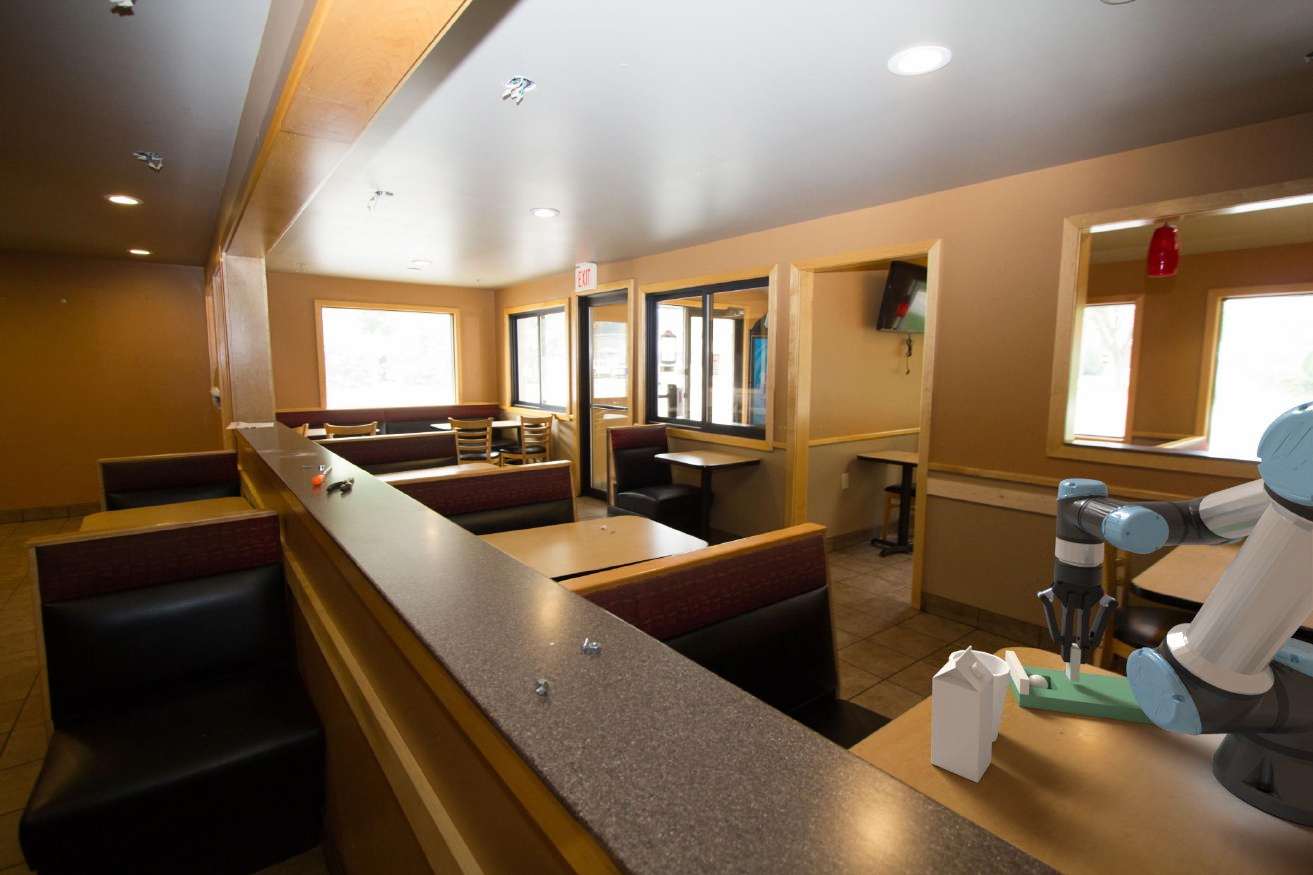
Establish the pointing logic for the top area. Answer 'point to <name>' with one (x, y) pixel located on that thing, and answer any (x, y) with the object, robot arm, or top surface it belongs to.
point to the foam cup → (1001, 682)
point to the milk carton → (962, 717)
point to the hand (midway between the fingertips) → (1072, 677)
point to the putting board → (1075, 693)
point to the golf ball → (1038, 682)
